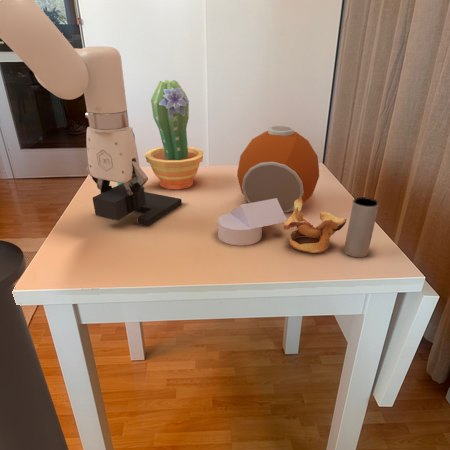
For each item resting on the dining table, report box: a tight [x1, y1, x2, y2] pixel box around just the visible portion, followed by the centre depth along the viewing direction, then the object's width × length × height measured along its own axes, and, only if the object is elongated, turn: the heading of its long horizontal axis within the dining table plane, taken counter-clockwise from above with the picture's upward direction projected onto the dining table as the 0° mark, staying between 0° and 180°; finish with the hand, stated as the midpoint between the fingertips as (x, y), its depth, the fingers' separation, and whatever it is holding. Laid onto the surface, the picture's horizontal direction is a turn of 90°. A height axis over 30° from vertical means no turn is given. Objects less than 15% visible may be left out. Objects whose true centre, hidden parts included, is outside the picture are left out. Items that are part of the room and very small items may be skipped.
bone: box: [283, 198, 347, 255], centre depth 82 cm, size 12×10×8 cm
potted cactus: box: [144, 79, 204, 190], centre depth 107 cm, size 15×15×25 cm
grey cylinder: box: [343, 196, 380, 258], centre depth 79 cm, size 4×4×10 cm
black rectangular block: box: [92, 184, 146, 221], centre depth 91 cm, size 6×10×4 cm, turn 154°
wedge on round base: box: [217, 198, 288, 247], centre depth 86 cm, size 9×7×13 cm
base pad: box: [135, 191, 183, 227], centre depth 98 cm, size 14×14×2 cm
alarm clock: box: [236, 125, 320, 213], centre depth 98 cm, size 19×18×17 cm
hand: (120, 207), depth 92 cm, fingers closed on black rectangular block, 5 cm apart
